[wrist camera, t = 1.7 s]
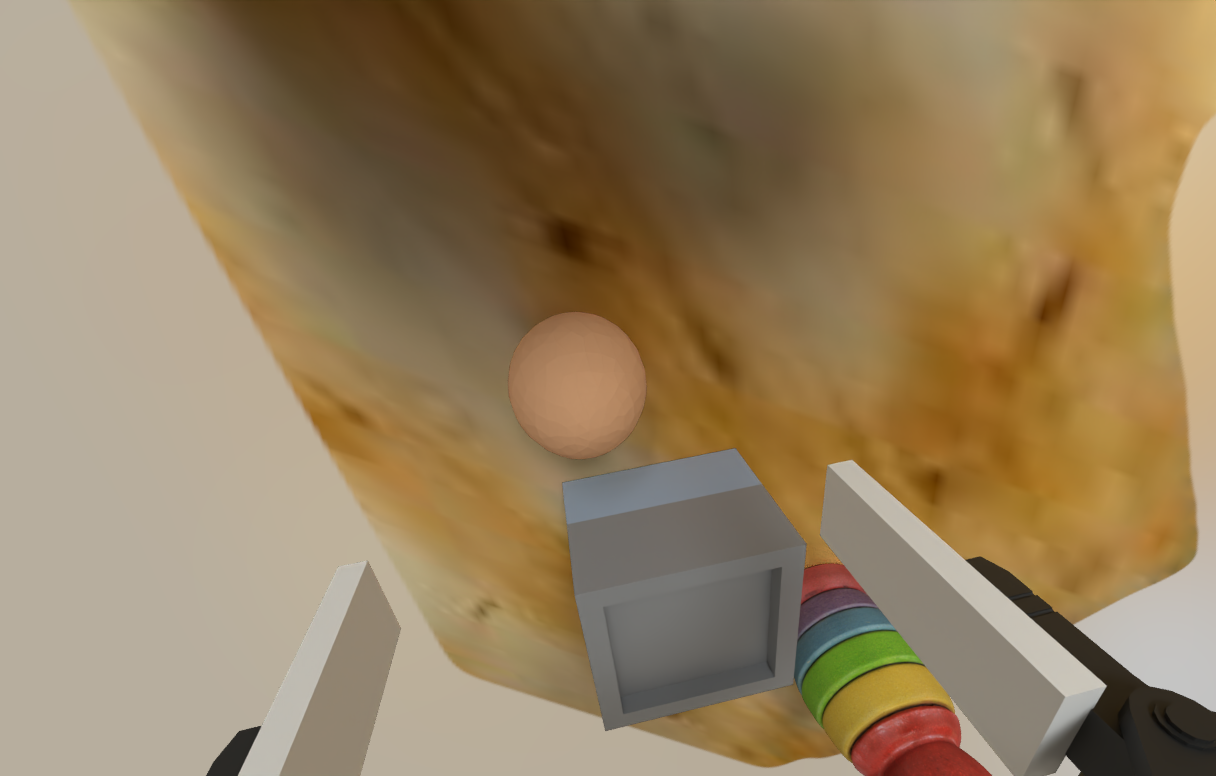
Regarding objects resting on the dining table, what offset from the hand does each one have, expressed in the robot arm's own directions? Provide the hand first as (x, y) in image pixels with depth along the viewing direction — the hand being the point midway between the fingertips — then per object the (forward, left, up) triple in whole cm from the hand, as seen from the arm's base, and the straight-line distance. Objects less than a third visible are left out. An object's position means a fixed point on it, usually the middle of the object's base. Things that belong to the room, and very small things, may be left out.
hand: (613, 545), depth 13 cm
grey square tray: (+15, +4, -15) cm, 21 cm away
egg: (0, 0, -15) cm, 15 cm away
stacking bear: (+27, +17, -15) cm, 35 cm away
